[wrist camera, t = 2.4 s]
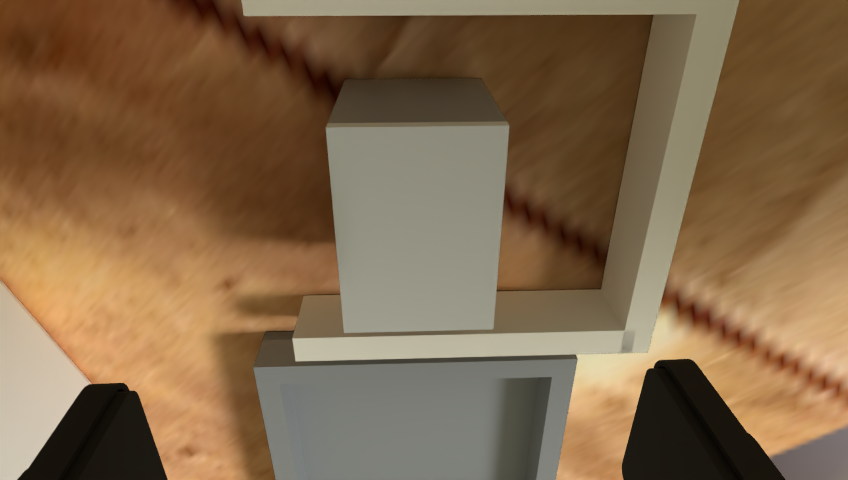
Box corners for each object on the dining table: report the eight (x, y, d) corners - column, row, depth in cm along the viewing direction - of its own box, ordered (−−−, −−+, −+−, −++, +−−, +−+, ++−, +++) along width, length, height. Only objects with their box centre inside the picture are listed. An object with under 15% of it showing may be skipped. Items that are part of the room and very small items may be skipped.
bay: (697, -35, 18) (747, -31, 16) (622, 310, 25) (647, 352, 23) (261, -34, 18) (236, -30, 15) (306, 317, 25) (295, 361, 22)
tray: (562, 324, 26) (577, 359, 23) (533, 511, 32) (542, 550, 30) (265, 331, 25) (253, 367, 23) (298, 519, 32) (291, 559, 30)
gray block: (480, 77, 20) (509, 125, 15) (472, 242, 23) (493, 329, 18) (345, 78, 20) (325, 127, 15) (356, 244, 23) (344, 332, 18)
